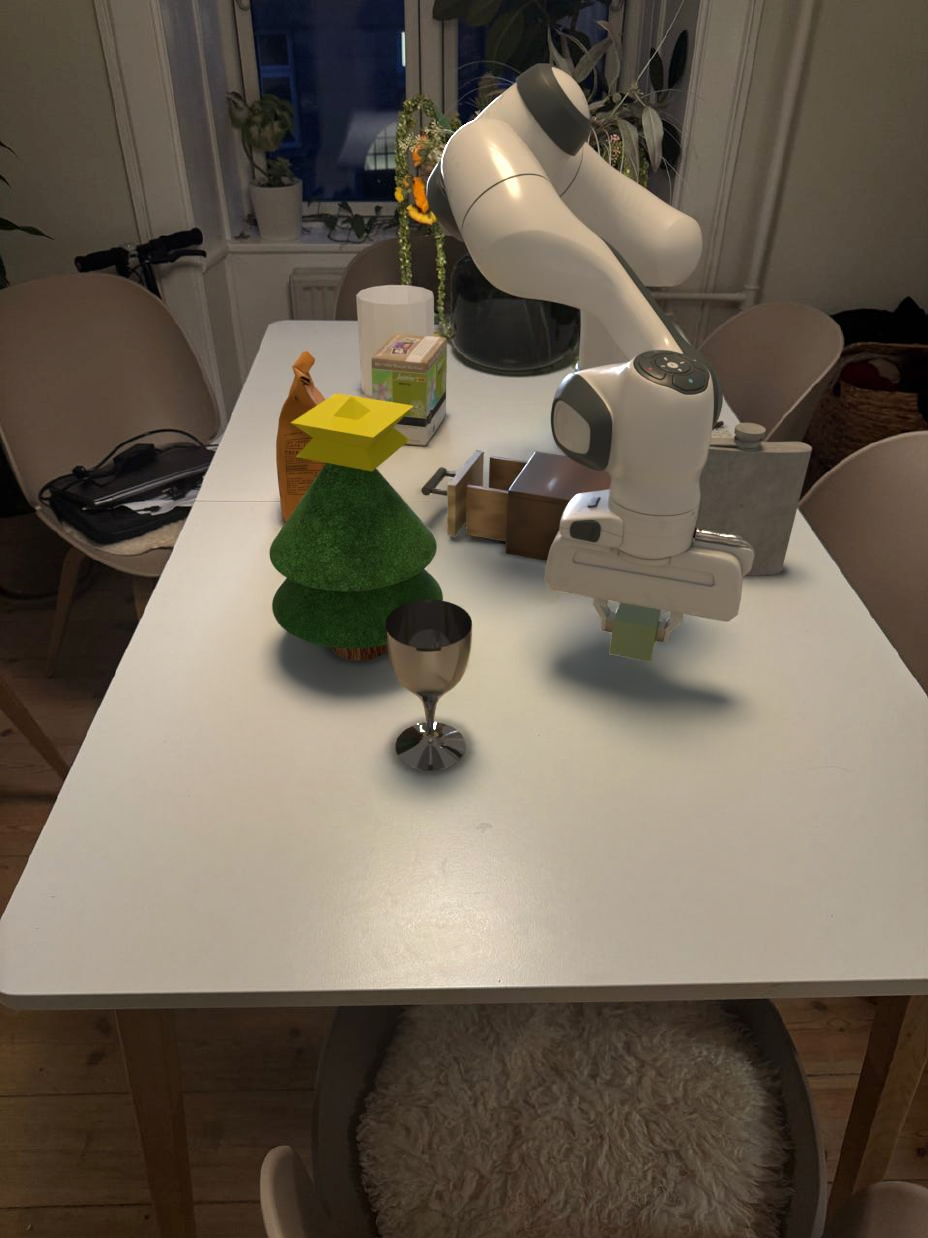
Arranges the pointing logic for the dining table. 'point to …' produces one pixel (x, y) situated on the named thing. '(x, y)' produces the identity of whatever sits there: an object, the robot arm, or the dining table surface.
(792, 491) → the hip flask
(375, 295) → the container
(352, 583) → the decorative tree
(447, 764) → the wine glass
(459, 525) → the drawer
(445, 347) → the tea box
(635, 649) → the block
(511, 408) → the dining table surface
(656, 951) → the dining table surface
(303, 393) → the coffee package
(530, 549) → the cabinet
